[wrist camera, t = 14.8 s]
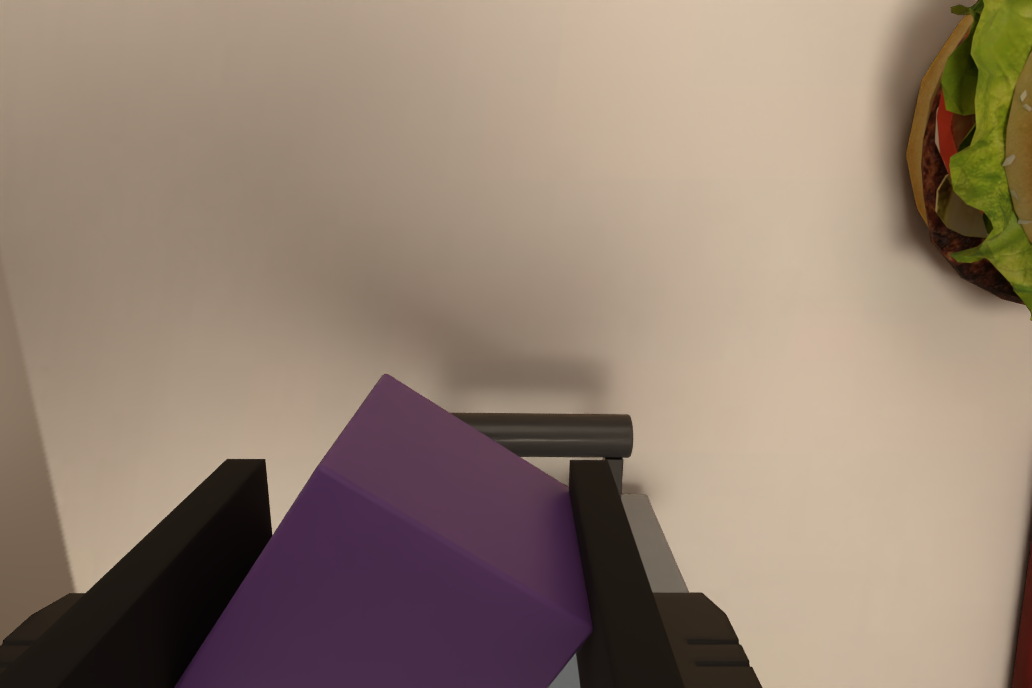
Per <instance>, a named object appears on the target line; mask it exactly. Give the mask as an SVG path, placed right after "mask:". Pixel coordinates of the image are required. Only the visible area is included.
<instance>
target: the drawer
mask: <svg viewBox="0 0 1032 688" xmlns="http://www.w3.org/2000/svg"><path fill="white" fill-rule="evenodd" d="M451 414H452V415H454V416H455V417H457V418H459V419H460V420H462V421H463V422H465V423H466V424H468V425H470V426H471V427H473V428H474V429H476V430H478V431H479V432H481V433H482V434H484V435H486V436H487V437H489V438H490V439H492V440H494V441H495V442H497V443H498V444H500V445H502V446H503V447H505V448H506V449H508V450H510V451H511V452H513V453H514V454H516V455H517V456H519V457H603V460H608V462H609V465H610V468H611V471H612V474H613V477H614V480H615V483H616V486H617V489H618V492H619V495H620V498H621V500H622V503H623V506H624V509H625V512H626V515H627V518H628V521H629V524H630V527H631V530H632V533H633V536H634V539H635V542H636V545H637V548H638V551H639V554H640V557H641V560H642V563H643V565H644V568H645V571H646V574H647V577H648V580H649V583H650V586H651V589H652V592H660V593H689V591H688V589H687V587H686V584H685V582H684V580H683V577H682V575H681V573H680V570H679V568H678V566H677V563H676V561H675V559H674V557H673V554H672V552H671V550H670V547H669V545H668V543H667V540H666V538H665V536H664V533H663V531H662V529H661V527H660V524H659V522H658V520H657V517H656V515H655V513H654V510H653V508H652V506H651V503H650V501H649V499H648V497H647V495H643V494H622V476H623V458H628V457H630V456H631V453H632V448H633V426H632V421H631V417H630V415H628V414H530V413H451ZM548 688H580V680H579V673H578V665H577V657H576V653H575V655H574V656H573V657H572V658H571V660H570V661H569V662H568V663H567V665H566V666H565V667H564V668H563V670H562V671H561V672H560V673H559V675H558V676H557V677H556V678H555V679H554V681H553V682H552V683H551V684H550V686H549V687H548Z"/></svg>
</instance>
